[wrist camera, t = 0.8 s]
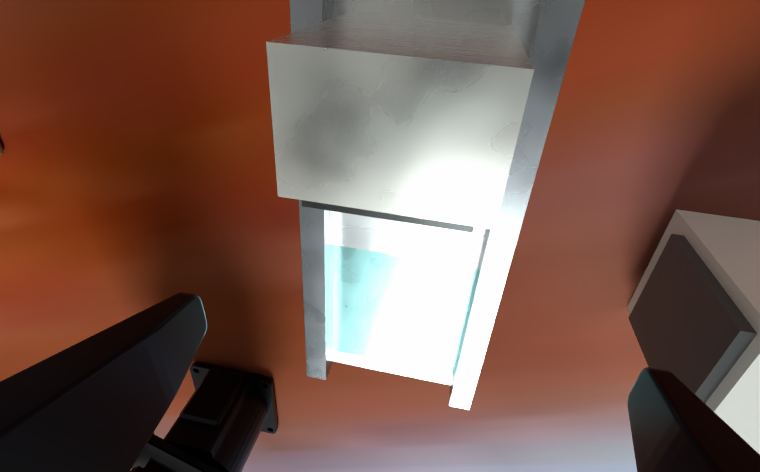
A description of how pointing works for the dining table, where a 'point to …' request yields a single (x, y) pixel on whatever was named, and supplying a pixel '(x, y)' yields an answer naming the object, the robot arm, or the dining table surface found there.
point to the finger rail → (412, 170)
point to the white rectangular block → (706, 313)
